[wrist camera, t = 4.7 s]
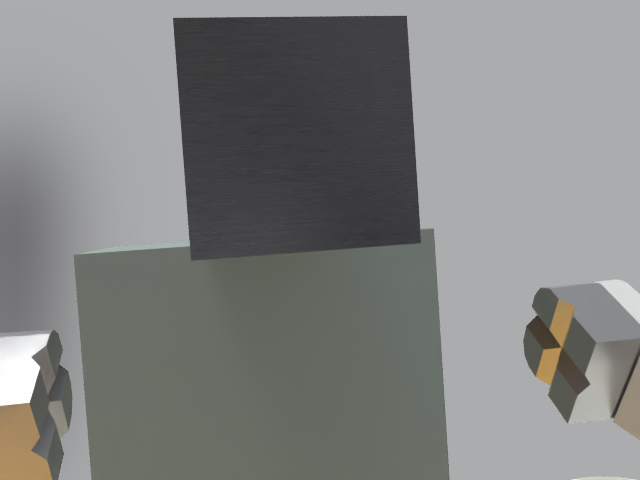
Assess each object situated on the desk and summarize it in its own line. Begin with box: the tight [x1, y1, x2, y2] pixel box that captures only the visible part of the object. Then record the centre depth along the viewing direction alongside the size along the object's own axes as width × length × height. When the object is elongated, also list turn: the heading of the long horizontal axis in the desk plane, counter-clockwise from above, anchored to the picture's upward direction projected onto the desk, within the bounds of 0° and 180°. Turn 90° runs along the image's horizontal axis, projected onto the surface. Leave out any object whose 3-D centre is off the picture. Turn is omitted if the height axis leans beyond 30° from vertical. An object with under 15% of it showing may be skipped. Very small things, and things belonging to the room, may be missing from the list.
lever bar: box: [173, 16, 421, 261], centre depth 22 cm, size 24×4×4 cm, turn 10°
